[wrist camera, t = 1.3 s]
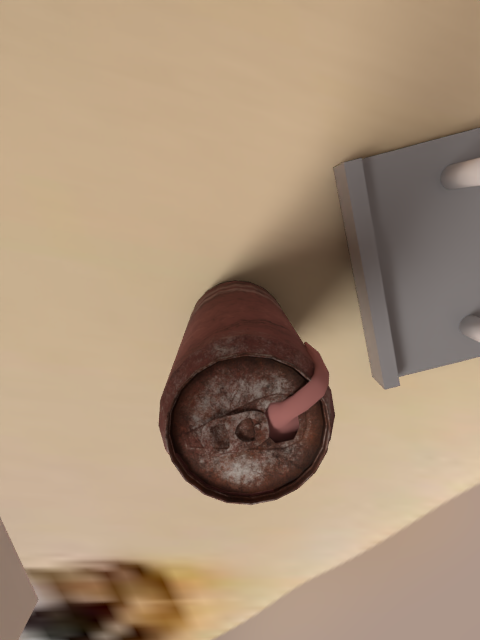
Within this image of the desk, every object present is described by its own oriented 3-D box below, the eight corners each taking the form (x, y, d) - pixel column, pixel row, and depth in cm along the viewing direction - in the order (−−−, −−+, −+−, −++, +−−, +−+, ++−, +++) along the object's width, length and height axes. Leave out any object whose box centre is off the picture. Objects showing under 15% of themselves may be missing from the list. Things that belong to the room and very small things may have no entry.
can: (304, 320, 27) (386, 423, 13) (238, 386, 28) (251, 546, 14) (238, 256, 26) (252, 298, 12) (171, 327, 26) (114, 440, 13)
